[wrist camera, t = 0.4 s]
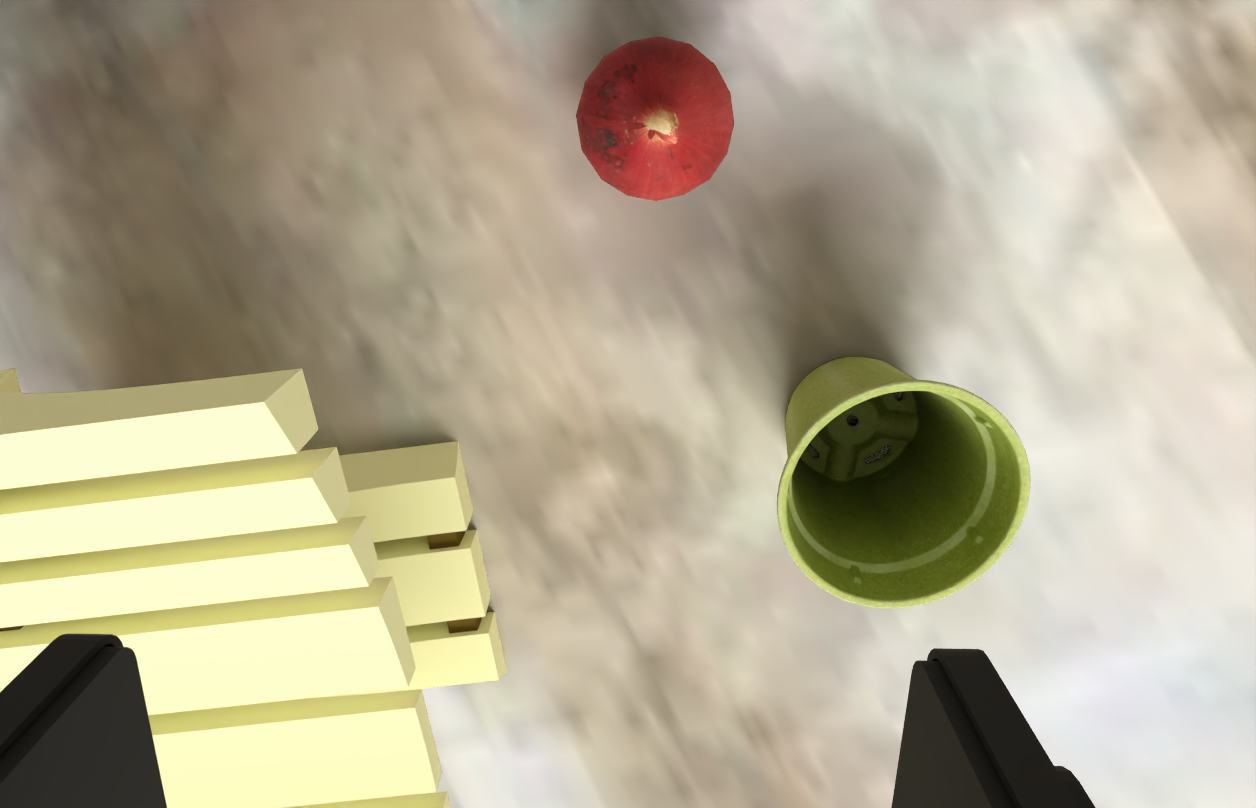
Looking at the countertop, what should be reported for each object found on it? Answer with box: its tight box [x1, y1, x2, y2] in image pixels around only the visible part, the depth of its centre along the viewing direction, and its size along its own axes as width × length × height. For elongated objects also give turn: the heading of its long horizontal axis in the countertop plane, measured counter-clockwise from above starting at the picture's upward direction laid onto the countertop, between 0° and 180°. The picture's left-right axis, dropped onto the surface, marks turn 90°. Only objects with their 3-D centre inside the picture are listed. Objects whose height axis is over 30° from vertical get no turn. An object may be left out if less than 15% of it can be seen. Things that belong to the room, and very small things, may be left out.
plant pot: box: [777, 357, 1031, 608], centre depth 38 cm, size 9×9×9 cm
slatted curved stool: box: [0, 368, 507, 808], centre depth 37 cm, size 30×16×18 cm, turn 8°
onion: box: [576, 37, 734, 201], centre depth 34 cm, size 6×6×8 cm
